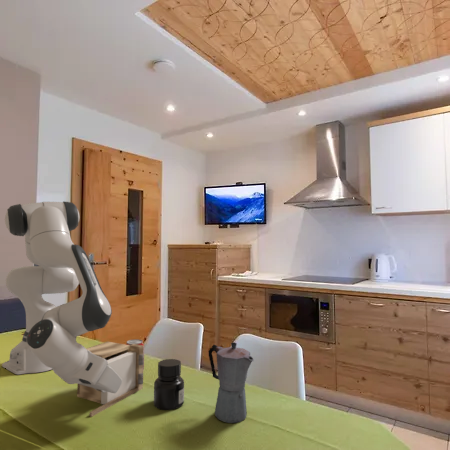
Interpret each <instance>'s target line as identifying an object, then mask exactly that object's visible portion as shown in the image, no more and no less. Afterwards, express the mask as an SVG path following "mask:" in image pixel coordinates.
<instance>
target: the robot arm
mask: <svg viewBox="0 0 450 450" xmlns="http://www.w3.org/2000/svg"><path fill="white" fill-rule="evenodd" d="M80 218H81V217H80V211H79V209H78V207H77V205H76V204H75V203H73V202H70V201H65V200H64V201H62V202H61V201H41V202H31V203H23V204H21V203H17V204H13V205H10V206H9V207H8V208H7V211H6V213H5V216H4V224H5V227H6V228H7V230H8V231H9V233H10V234H11V235H13V236H16V237H24V241H25V255H26V258H27V259H28V260H29V262H31V263H32V264H34V266H33V265H26V266H20V267H15V268H12V269H11V270H10V271H9V272H8V274H7V275H6V278H5V286H6V288H7V290H8V292H10V293H11V294H13V295H14V296H15V297H17V298H18V300H20V301H21V304H22V305H23V307H24V311H25V331H21V336H22V339H21V341H20V342H19V343H18V344H16V345H15V346H14V347H13V348H12V349H11V351H10V354H9V360H7V361H5V362H3V363H2V364H1V367H2V368H3V369H5V368H6V370H7V371H9V372H11V373H12V374H15V375H23V374H35V373H42V372H48V371H50V370H52V371H53V372H54V374H55V375H57V376H58V377H59V378H60V379H61V380H63V381H64V382H65V383H66V384H68V385H75V384H77V385H78V384H80V385H84V386H88V387H92V388H94V389H95V390H97V391H100V392H104V393H105V392H106V391H107V392H111V393H116V392H117V391H118V389H119V387H120V385H121V383H122V379H121V378H120V377H119V375H118V374H117V373H116V372H115V371H114V370H113V369H112V368H111V367H110V366H108V365H107V364H108V362H107V360H106V359H104V358H102V357H99V356H97V355H95V354H93V353H91V352H90V351H89V350H87V349H86V348H87V347H85V346H84V345H83V344H81V343H79V342H77V337H79V336H82V335H84V334H86V333H90V332H93V331H97V330H101V329H103V328H105V327H106V325H107V324H108V323H109V321H110V319H111V317H112V314H113V312H112V311H113V310H112V306H111V303H110V301H109V300H108V298H107V295H106V294H105V293H104V291H103V289H102V286H101V284H100V282H99V279H98V278H97V275H96V272H95V270H94V268H93V265H92V263H91V261H90V258H89V256H88V255H87V252H86V251H85V250H84V248H83V247H82V246H80V245H79V244H75V243H74V242H73V241H72V238H71V233H70V232H72V231H73V230H76V228H78V226H79V222H80V220H81V219H80ZM79 285H80V289H81V292H82V294H81V296H80V297H79V298H76V299H74V300H73V299H72V300H71V301H68V302H66V303H62V304H60V305H57V306H56V305H55V304H53V303H51V302H48V301H46V300H45V299H44V298H43V295H47V294H48V295H49V294H51V295H52V294H53V295H54V294H55V295H56V294H65V293H69V292H70V293H71V292H74V291H75V290H76V289H77V287H78V286H79Z"/></svg>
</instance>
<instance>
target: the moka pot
mask: <svg viewBox="0 0 450 450" xmlns="http://www.w3.org/2000/svg"><path fill="white" fill-rule="evenodd" d="M230 344H231V346H229V347H222V346H218V345H216V344H213V345H212V346H211V347H210V348H209V350H208V358H209V363H210V368H211V373H212V377H213V378H214V379H216V380H218V381H219V382H218V383H219V387H218V392H217V397H216V403H215V408H214V416H215V417H216V418H217V420H220V421H222V422H224V423H227V424H237V423H240V422H243V421H244V420H245V419H246V418H247V416H248V415H247V414H248V411H247V400H246V399H247V398H246V389H245V388H246V381H247V378H248V377H247V376H248V371H249V368H250V367H251V364H252V362H254V361H255V360H254V357H253V356H252V355H251V352H250V351H248V350H247V349H245V348H242V347H237V345H238V344H237V342H231V343H230ZM213 352H215V354H216V365H217V373H216V370H215V368H216V367H215V363H214V357H213Z"/></svg>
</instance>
